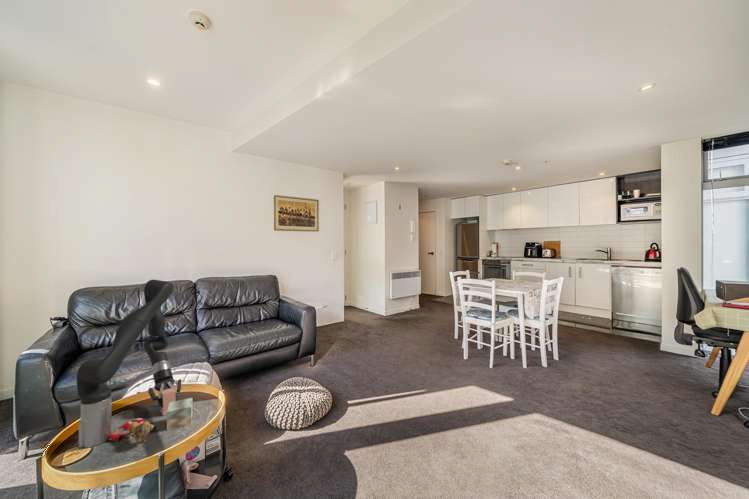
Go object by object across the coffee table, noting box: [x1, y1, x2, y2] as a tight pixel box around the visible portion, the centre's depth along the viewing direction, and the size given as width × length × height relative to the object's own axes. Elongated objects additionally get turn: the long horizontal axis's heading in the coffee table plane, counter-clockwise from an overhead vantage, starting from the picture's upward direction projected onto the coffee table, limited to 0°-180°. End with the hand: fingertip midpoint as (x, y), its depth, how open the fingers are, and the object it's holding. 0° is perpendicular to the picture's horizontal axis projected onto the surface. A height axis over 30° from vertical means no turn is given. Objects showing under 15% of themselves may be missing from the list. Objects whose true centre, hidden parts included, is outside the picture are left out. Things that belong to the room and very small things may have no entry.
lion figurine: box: [126, 420, 155, 447], centre depth 121 cm, size 15×5×9 cm, turn 69°
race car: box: [108, 417, 146, 442], centre depth 127 cm, size 13×5×4 cm, turn 164°
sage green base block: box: [166, 397, 193, 431], centre depth 135 cm, size 9×9×8 cm
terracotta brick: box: [159, 388, 176, 416], centre depth 143 cm, size 5×5×10 cm
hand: (169, 404), depth 142 cm, fingers closed on terracotta brick, 5 cm apart
